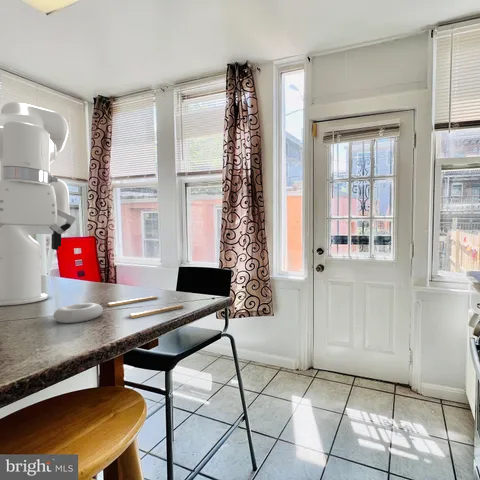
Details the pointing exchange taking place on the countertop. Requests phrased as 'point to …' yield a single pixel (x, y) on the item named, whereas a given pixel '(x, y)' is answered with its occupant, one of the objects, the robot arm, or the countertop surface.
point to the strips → (145, 311)
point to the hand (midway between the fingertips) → (26, 250)
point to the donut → (78, 312)
